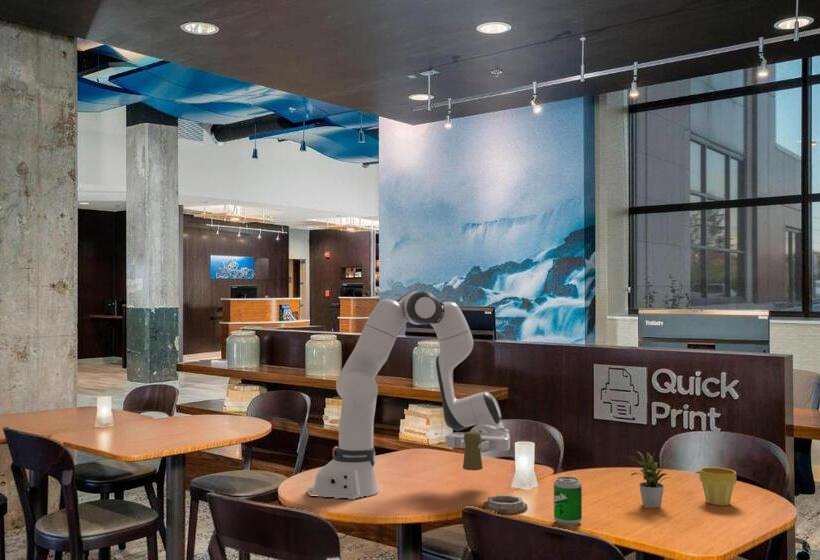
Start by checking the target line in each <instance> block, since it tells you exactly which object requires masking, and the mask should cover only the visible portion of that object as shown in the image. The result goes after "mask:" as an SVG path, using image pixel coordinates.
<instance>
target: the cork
mask: <svg viewBox="0 0 820 560" xmlns="http://www.w3.org/2000/svg"><path fill="white" fill-rule="evenodd" d="M464 433H465V434H464V441H465V442H466V445H465V446H466V447H465V448H464V454H463V462H462V463H463V464H462V469H463V470H466V471H480V470H483V468H484V467H483V461H482V453H481V452H480V449H478V443H479V442H480V441H481V435H480V433H478V432H474V431H471V430H469V431H467V432H464Z"/></svg>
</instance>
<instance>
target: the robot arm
mask: <svg viewBox="0 0 820 560" xmlns="http://www.w3.org/2000/svg"><path fill="white" fill-rule="evenodd" d="M440 300H441V299H438V297H436V296H435V295H434V294H432V293H431V292H429V291H425V290H423V291H422V290H414V291H410V292H408V293H406V294H404V295H403V296H402V297H400V298H399V299H398V300H394V299H392V298H383V299H381V300H380V301H378V302H377V304H376V305H375V307H374V308H373V310H372V311H371V313H370V314H369V316H368V319H367V320H366V322H365V324H364V326H363V329H362V331H361V333H360V336H359V338H358V341H357V343H356V344H355V347H354V349H353V350H352V352H351V354H350V355H349V357H348V358H347V360H346V361H345V364H344V365H343V368H342V369H341V371H340V373H339V374H338V376H337V378H336V381H335V389H336V392H337V394H338V396H340V398H341V409H340V418H339V422H338V446H337V445H335V446H334V447H333V448H332V453H331V454H332V460H330V461H329V462H328V463H327V464H325V465H324V466H323V467H321V468H320V469H319V470H318V471H317V473H316V475H315V479H314V484H313V485H310V486H309V487H308V489H307V492H308V493H309V494H310V495H318V496H325V497H334V498H333V499H339V498H348V499H347V500H357V499H356V498H358V499H360V498H359V497H361V498H364V496H366V497H370V496H373V495H377V494H378V493H379V488H378V484H377V479H376V472H375V463H376V451H375V450H376V448H375V446H374V423H375V422H374V421H375V414H376V405H377V399H378V398H377V397H378V394H379V389H378V388H379V387H378V384H377V381H376V379H375V378H376V376H377V375H378V373H379V372H380V370H381V369H382V367H383V366H384V365H385V364H386V362H387V361H388V359H389V356H390V354H391V351H392V349H393V347H394V345H395V342H396V341H397V337H398V335H399V332H400V330H401V329H402V327H403V326H404V325H405V324H406V323H407V324H413V325H418V326H420V325H430V326H431V327H432V328H433V330H434V331H435V334H436V337H437V339H438V340H437V341H438V344H439V354H438V355H437V356H436V358H435V369H436V375H437V380H438V381H437V382H438V385H439V392H440V397H441V402H442V413H443V419H444V423H445V424H446V426H447V427H448V428H450V429H451V430H454V431H456V432H451V433H448V434H446V435H445V438H444V439H445V440H444V441H445V446H446V447H447V448H458V449H459V448H460V449H465V447H466V446H465V445H466V442H465V441H464V434H465V433H466V432H460V431H462V430H465V429H467V428H469V427H472V426H473V427H472V428H471V429H470V431H474V432H478V433H480V435H481V441H480V442H479V443H478V449H480V453H481V454H483V453H489V452H494V451H503V452H504V451H505V452H507V451H510V449H511V436H510V429H508V428H505V426H504V423H503V422H502V418H503V417H502V415H503V414H502V410H501V406H500V404H499V401H498V399H497V398H496V397H495V396H494V395H493V394H492V393H490V392H488V391H482V392H478V393H477V392H476V393H475V394H472V395H469V396H465V397H461V398H457V397H456V396H455V395H456V394H455V388H454V385H453V384H454V383H453V379H452V377H453V376H452V374H453V371H454V369H455V368H456V367H457V366H458V365H459V364H461V363H462V362H463V361H465V360H466V359H467V357H469V355H471V352H472V351H473V348H474V338H473V334H472V332H471V329H470V326H469V323H468V322H467V320H466V317H465V315H464V314H463V311H462V309H461V308H460V306H459V305H458V304H457V303H456V302H453V301H444V302H442V301H440Z"/></svg>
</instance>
